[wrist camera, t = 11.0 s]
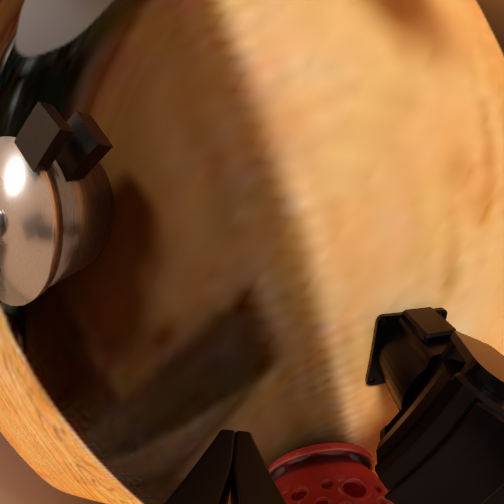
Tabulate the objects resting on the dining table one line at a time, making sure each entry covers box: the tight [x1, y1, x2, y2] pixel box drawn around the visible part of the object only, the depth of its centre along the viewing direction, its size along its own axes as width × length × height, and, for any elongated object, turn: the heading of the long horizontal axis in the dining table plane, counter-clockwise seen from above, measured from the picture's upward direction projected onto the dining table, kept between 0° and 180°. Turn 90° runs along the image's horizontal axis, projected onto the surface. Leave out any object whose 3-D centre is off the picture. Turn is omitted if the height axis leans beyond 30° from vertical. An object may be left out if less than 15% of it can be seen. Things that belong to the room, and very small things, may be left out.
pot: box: [0, 111, 114, 302], centre depth 17 cm, size 23×10×6 cm, turn 128°
